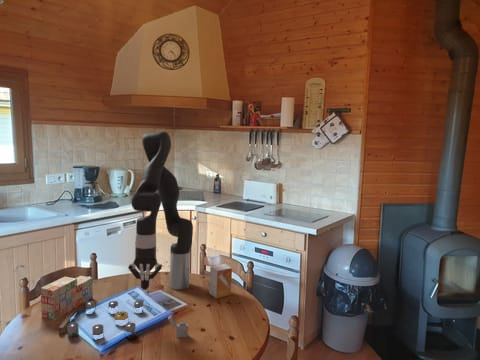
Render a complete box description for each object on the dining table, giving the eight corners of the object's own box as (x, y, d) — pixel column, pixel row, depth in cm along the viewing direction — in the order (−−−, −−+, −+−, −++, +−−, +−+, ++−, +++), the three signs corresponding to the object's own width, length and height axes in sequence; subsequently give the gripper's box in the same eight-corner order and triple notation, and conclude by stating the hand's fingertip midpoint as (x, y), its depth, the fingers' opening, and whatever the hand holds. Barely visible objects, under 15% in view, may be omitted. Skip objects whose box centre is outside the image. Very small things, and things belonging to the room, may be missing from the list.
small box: (216, 298, 166) (217, 270, 164) (208, 293, 171) (209, 266, 169) (231, 294, 171) (232, 267, 169) (223, 289, 176) (224, 263, 174)
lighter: (187, 334, 136) (188, 314, 135) (187, 337, 134) (188, 316, 133) (167, 335, 135) (168, 314, 134) (167, 338, 133) (168, 317, 132)
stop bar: (77, 313, 148) (77, 307, 147) (63, 334, 133) (63, 327, 132) (73, 313, 147) (73, 307, 147) (58, 334, 133) (58, 327, 132)
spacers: (143, 309, 153) (143, 300, 153) (134, 339, 131) (134, 329, 131) (84, 310, 151) (84, 300, 150) (64, 340, 129) (64, 330, 128)
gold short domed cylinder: (129, 319, 145) (129, 311, 144) (126, 326, 140) (126, 317, 140) (116, 319, 144) (116, 311, 144) (113, 326, 139) (113, 317, 139)
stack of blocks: (81, 295, 164) (80, 268, 162) (92, 298, 162) (92, 271, 160) (41, 317, 144) (40, 287, 142) (54, 320, 142) (53, 290, 140)
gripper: (164, 242, 144) (163, 285, 146) (129, 241, 142) (129, 284, 144) (162, 248, 136) (161, 293, 138) (125, 247, 135) (125, 292, 137)
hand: (144, 288), depth 141 cm, fingers closed
